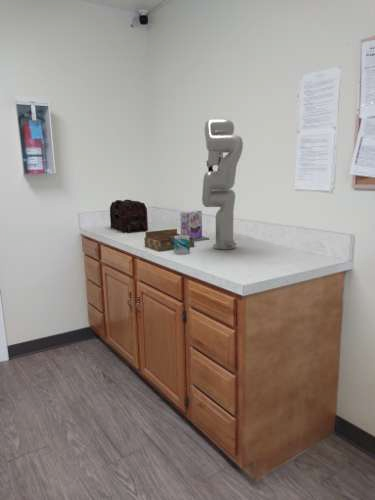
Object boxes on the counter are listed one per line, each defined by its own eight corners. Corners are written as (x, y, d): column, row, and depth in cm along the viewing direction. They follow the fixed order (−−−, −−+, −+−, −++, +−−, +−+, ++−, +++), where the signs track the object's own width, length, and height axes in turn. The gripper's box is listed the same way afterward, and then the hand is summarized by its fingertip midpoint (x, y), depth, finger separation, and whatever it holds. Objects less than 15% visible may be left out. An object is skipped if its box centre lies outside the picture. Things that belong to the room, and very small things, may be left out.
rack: (194, 246, 221) (194, 232, 219) (159, 251, 210) (159, 236, 208) (177, 242, 236) (177, 228, 234) (144, 246, 225) (144, 232, 223)
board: (209, 239, 242) (209, 237, 242) (182, 242, 233) (182, 241, 232) (199, 237, 252) (199, 235, 251) (173, 240, 242) (173, 238, 242)
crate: (109, 227, 301) (107, 200, 297) (132, 225, 310) (131, 198, 305) (124, 233, 271) (123, 203, 266) (150, 231, 279) (149, 201, 275)
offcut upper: (183, 241, 218) (183, 235, 218) (172, 243, 213) (172, 237, 212) (179, 241, 220) (179, 234, 220) (168, 243, 215) (168, 236, 214)
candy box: (188, 240, 234) (187, 212, 231) (180, 239, 238) (179, 212, 235) (202, 237, 245) (202, 210, 242) (195, 236, 249) (194, 209, 245)
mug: (177, 254, 201) (177, 238, 199) (169, 250, 212) (168, 235, 210) (192, 253, 204) (192, 237, 202) (183, 249, 215) (182, 233, 213)
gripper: (229, 145, 231) (229, 175, 235) (212, 146, 246) (212, 175, 249) (218, 144, 228) (218, 175, 231) (201, 146, 242) (202, 175, 245)
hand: (215, 175), depth 240 cm, fingers open, 9 cm apart
